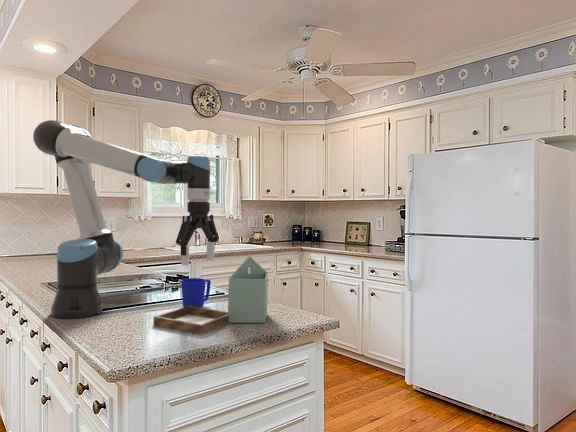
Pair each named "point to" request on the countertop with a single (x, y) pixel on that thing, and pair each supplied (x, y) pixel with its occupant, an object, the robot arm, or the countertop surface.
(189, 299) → the mug
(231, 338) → the countertop surface
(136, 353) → the countertop surface
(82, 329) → the countertop surface
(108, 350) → the countertop surface
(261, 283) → the planter
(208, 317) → the brown wooden tray
